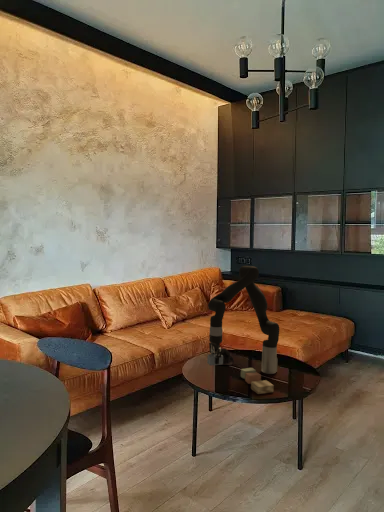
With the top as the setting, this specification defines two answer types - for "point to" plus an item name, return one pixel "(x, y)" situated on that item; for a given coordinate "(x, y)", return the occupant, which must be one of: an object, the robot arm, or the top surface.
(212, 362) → the slate brick
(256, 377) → the terracotta brick
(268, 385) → the birch brick
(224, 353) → the crystal cluster
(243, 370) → the sage brick
